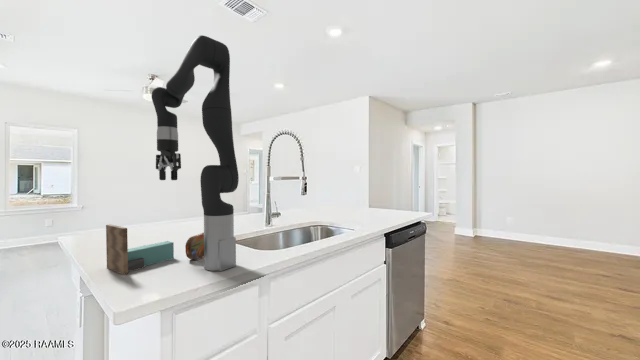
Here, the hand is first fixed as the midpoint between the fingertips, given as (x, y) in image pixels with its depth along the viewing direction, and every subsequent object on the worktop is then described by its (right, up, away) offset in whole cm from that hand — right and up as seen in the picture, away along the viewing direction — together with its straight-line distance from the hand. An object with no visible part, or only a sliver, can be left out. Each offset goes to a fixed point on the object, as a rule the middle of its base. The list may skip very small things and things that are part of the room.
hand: (168, 180), depth 114 cm
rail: (+1, -29, -16) cm, 33 cm away
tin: (+16, -29, -8) cm, 34 cm away
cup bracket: (-2, -29, -21) cm, 36 cm away
